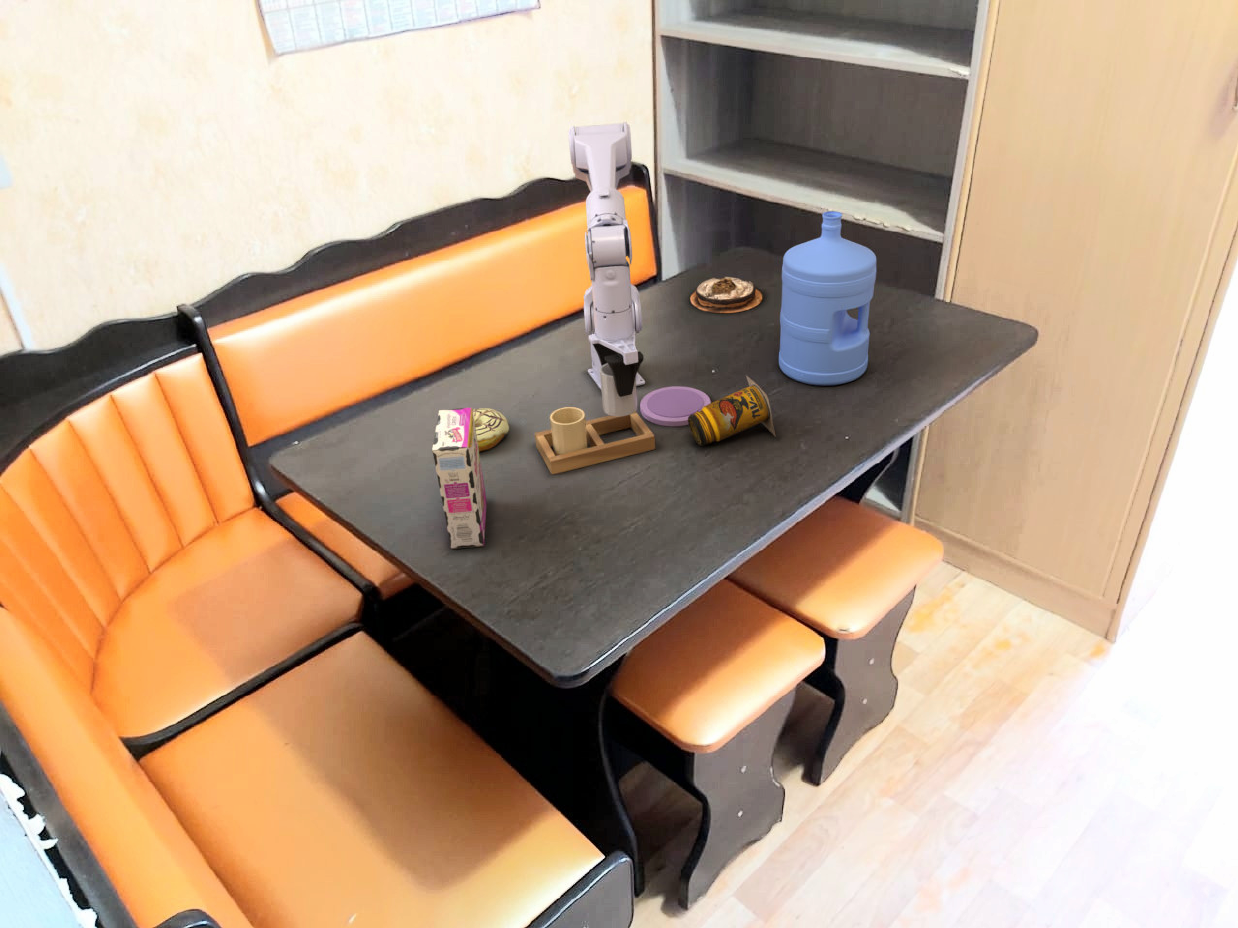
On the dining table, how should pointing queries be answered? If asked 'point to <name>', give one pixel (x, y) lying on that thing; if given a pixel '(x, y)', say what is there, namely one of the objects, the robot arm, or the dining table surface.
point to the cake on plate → (725, 295)
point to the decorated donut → (489, 427)
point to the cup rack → (598, 443)
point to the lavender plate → (672, 405)
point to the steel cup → (615, 395)
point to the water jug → (826, 307)
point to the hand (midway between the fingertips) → (618, 386)
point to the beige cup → (568, 430)
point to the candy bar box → (460, 477)
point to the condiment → (731, 415)
